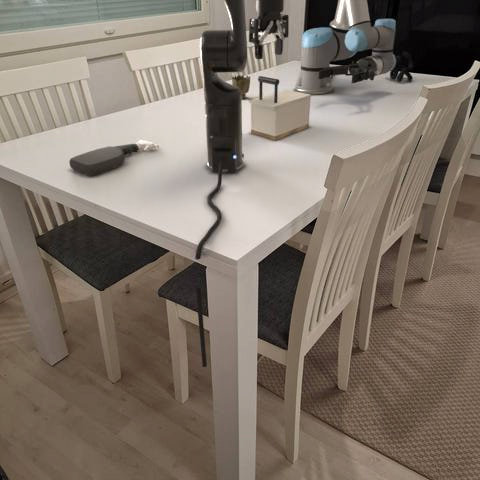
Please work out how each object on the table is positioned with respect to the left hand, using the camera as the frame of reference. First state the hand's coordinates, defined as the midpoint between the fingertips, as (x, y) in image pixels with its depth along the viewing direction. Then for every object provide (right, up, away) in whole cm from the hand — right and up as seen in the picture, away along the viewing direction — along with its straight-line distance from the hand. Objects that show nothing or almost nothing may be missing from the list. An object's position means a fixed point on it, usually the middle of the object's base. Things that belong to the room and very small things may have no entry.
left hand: (268, 56), depth 128 cm
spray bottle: (-43, -30, -3) cm, 52 cm away
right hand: (+25, +4, +26) cm, 36 cm away
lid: (+4, -9, +11) cm, 15 cm away
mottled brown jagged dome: (-8, +4, +51) cm, 51 cm away
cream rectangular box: (+5, -17, +16) cm, 24 cm away
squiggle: (+64, +19, +72) cm, 98 cm away
